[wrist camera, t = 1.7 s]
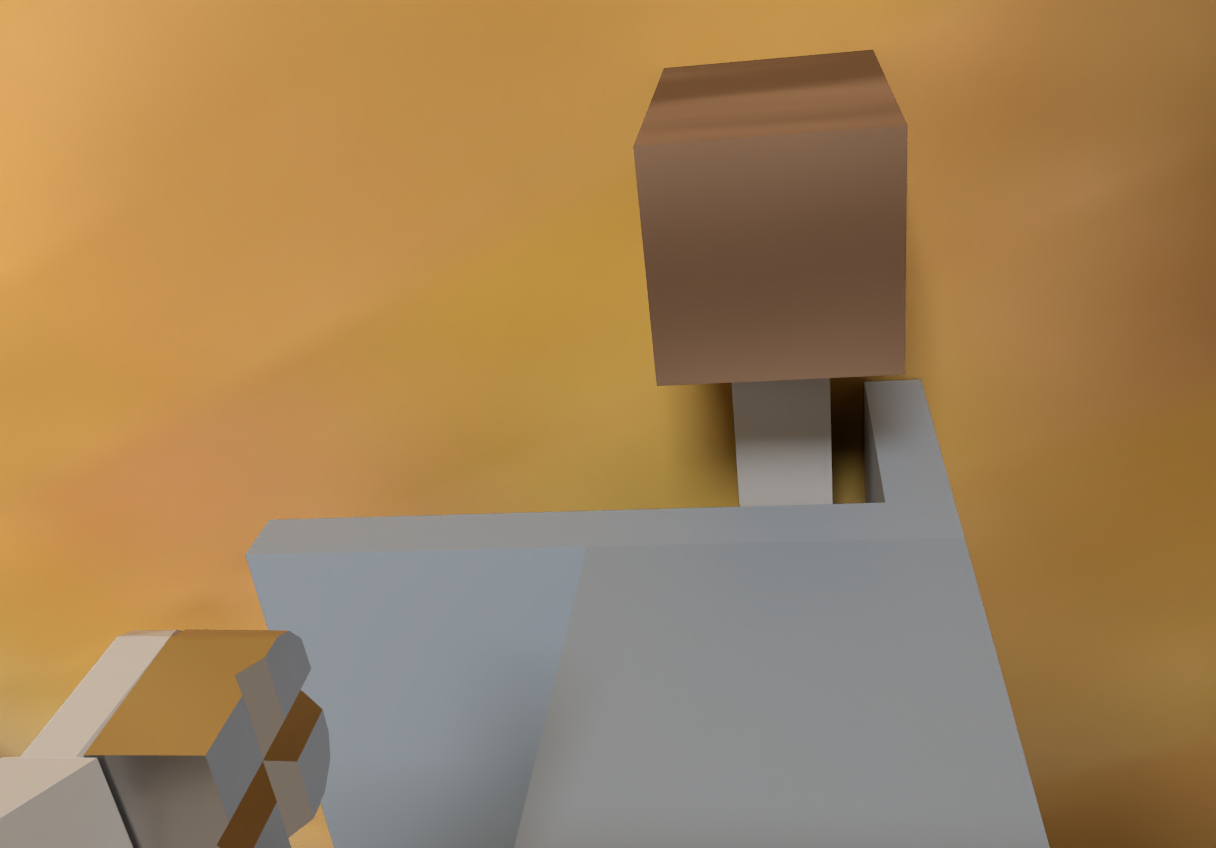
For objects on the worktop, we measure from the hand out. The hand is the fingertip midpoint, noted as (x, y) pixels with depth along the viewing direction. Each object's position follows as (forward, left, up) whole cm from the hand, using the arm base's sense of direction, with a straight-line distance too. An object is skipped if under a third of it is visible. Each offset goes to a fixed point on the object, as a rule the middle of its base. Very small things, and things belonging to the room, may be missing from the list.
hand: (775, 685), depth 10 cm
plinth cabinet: (+12, -3, -16) cm, 20 cm away
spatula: (+6, 0, -16) cm, 17 cm away
